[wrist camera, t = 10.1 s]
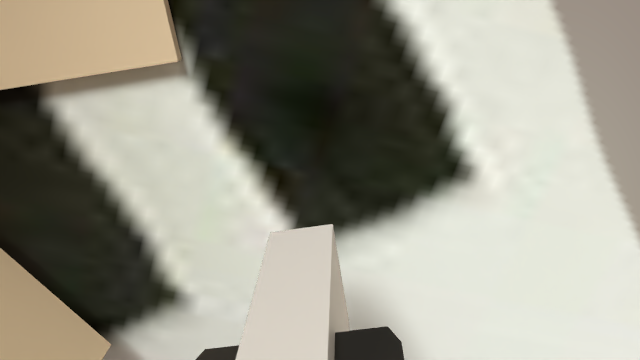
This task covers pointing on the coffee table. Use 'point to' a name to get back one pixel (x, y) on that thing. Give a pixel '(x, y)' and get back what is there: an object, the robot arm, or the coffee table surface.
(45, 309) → the flap
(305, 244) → the robot arm
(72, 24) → the carton
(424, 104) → the coffee table surface
